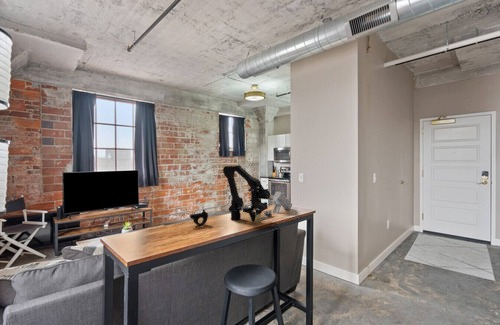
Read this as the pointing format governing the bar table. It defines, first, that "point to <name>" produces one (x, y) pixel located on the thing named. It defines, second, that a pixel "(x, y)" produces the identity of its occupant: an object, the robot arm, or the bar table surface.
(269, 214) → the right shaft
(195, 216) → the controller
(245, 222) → the bar table surface
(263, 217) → the pad
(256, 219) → the olive green rounded lump
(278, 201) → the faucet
